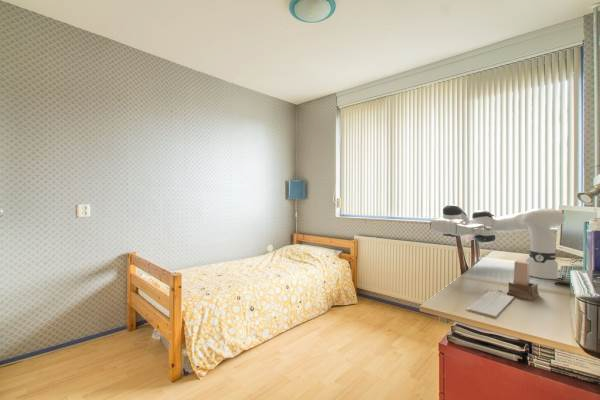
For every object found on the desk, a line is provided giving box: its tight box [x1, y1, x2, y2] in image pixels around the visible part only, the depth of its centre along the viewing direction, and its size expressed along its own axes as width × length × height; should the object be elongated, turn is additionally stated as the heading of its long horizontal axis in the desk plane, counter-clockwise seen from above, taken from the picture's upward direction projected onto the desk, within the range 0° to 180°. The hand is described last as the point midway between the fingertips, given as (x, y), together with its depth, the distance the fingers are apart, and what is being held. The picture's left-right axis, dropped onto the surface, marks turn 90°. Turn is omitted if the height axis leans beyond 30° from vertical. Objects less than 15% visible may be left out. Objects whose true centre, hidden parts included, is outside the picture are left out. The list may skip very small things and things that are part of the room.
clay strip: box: [513, 260, 531, 286], centre depth 139 cm, size 4×5×14 cm
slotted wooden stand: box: [506, 280, 539, 302], centre depth 138 cm, size 13×9×6 cm
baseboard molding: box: [465, 288, 515, 319], centre depth 128 cm, size 31×3×12 cm
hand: (487, 230), depth 152 cm, fingers open, 8 cm apart
